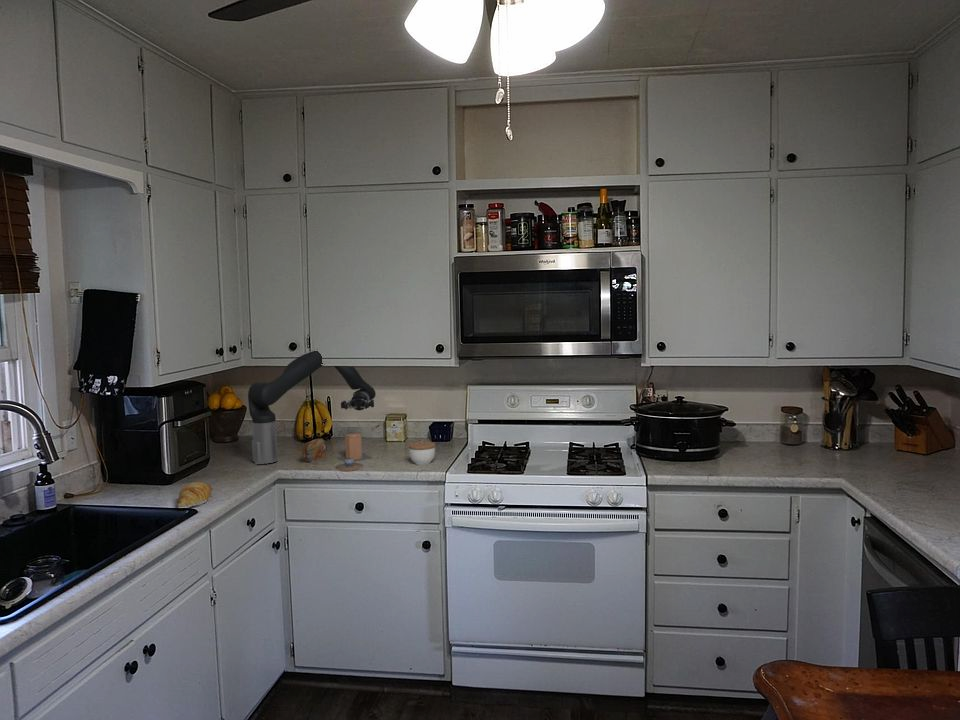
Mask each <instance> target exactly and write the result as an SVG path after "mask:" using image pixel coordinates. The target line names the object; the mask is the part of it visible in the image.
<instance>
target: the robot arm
mask: <svg viewBox="0 0 960 720" xmlns="http://www.w3.org/2000/svg"><path fill="white" fill-rule="evenodd" d="M321 364H323V363H322V356H321V354H320V353H319V352H318V351H315V350H312V351H310V352H307V353H304V354H302V355H300V356H298V357H297V358H295V359H293V360H292V361H290V362H289V363H288V364H287V365H286V367H285V368H284V370H283V372H282V374H281V375H280V376H279V377H277V378H276V379H274V380H272V381H270V382H260V381H259V382H258V381H257V382H255V383H252V384H251V385H250V386H249V388H248V392H247V400H248V409H249V415H250V418H251V422H252V423H251V424H252V436H253V437H252V440H251V454H252V462H253V461H254V462H256V463H258V464H259V463H273V462H276V461H278V462H279V458H278V457H279V456H278V455H279V454H278V453H279V452H278V440H277V439H278V436H277V421H276V420H277V419H276V414H275V413H274V412H273V411H272V410H271V408H270V406H272V405H274V404H275V403H276V402H277V401H279V400H280V399H281V398H282V397H283V396H284V395H285V394H286V393H287V392H289V390H291V389H292V388H294V387H295V386H298V384H299V383H301V382H303V381H304V380H305V379H307V378H308V377H310V376H311V375H312V374H313V373H315V372H316V371H317V370H319V369H320V368H322V367H323V366H324V365H321ZM333 367H334V368H335V369H336V370H337V372H338V373H339V374H340V375H341V376H342V378H343V380H344V381H345V382H346V383H347V385H348V387H349V388H350V389H351V390H356V391H355V392H353V394H352V397H351V399H350V400H348V401H346V400H343V401H341V402H340V409H344V410H348V409H350V410H351V409H354V410H356V411H364V409H365V410H366V409H370V407H371V408H374V407H375V398H376V394H377V393H376V390H375V389H374V387H373V386H372V385H370V384H369V383H368V382H366V381H365V380H364V379H363V378H362V376H361V375H360V373H359V371H358V370H357V369H356V368H355V366H353V367H349V366H348V367H347V366H333ZM276 463H277V462H276ZM273 464H274V463H273Z"/></svg>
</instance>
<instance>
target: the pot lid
mask: <svg viewBox="0 0 960 720" xmlns="http://www.w3.org/2000/svg"><path fill="white" fill-rule="evenodd" d="M362 468H364V464H363V463H359V462H354V459H353V458H348V459H345V462H344V463H340V464H338V465H336V466H335V467H334V469H335V470H337V471H339V472H355V471H354V470H356V471H358V470H360V469H362Z"/></svg>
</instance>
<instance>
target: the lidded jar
mask: <svg viewBox="0 0 960 720" xmlns="http://www.w3.org/2000/svg"><path fill="white" fill-rule="evenodd" d="M408 451H409V457H410V459H411V461H412V462H413V463H414V464H415V465H417V466H418V465H419V466H425V465H429V464H430V463H431V462H432V461H433V460H434V458H435V455H436V443H435V442H432V441H424V440H423V439H420V441H415V442H410V443H409V444H408Z"/></svg>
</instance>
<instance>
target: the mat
mask: <svg viewBox="0 0 960 720" xmlns="http://www.w3.org/2000/svg"><path fill="white" fill-rule="evenodd" d="M335 459H337V460H338V461H342V462H344V463H345V459H346V455H343V456H341V455H340V456H337V457H335ZM371 459H374V457H373V456H370V455H366V454H364V453H362V458H361V459H357V460H354V463H357V462H361V461H364V460H366V461H367V460H371Z"/></svg>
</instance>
